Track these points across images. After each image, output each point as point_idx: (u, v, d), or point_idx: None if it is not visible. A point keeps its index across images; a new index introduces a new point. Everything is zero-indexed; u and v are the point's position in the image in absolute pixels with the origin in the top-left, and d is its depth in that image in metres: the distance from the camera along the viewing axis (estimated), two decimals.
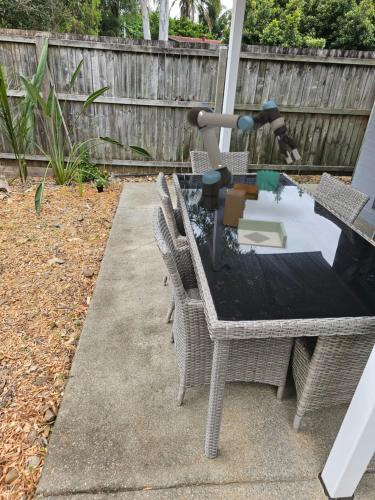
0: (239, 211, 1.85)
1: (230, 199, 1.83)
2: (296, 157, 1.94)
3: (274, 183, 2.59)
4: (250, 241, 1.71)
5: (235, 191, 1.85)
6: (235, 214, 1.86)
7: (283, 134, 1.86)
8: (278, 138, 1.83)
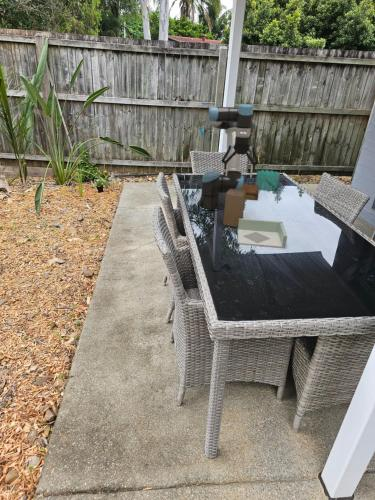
0: (239, 211, 1.85)
1: (230, 199, 1.83)
2: (250, 173, 1.81)
3: (274, 183, 2.59)
4: (250, 241, 1.71)
5: (235, 191, 1.85)
6: (235, 214, 1.86)
7: (239, 145, 1.73)
8: (228, 147, 1.76)
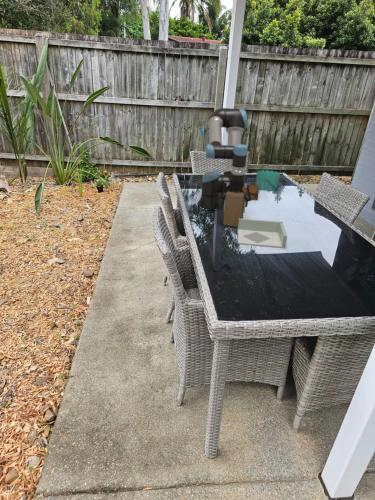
0: (239, 211, 1.85)
1: (230, 199, 1.83)
2: (243, 209, 1.90)
3: (274, 183, 2.59)
4: (250, 241, 1.71)
5: (235, 191, 1.85)
6: (235, 214, 1.86)
7: (234, 182, 1.82)
8: (224, 184, 1.85)
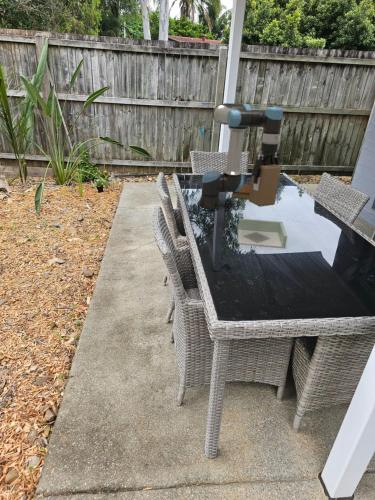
0: (276, 186, 1.60)
1: (269, 174, 1.55)
2: None
3: None
4: (250, 241, 1.71)
5: (266, 164, 1.58)
6: (272, 191, 1.61)
7: (268, 153, 1.54)
8: (258, 158, 1.53)
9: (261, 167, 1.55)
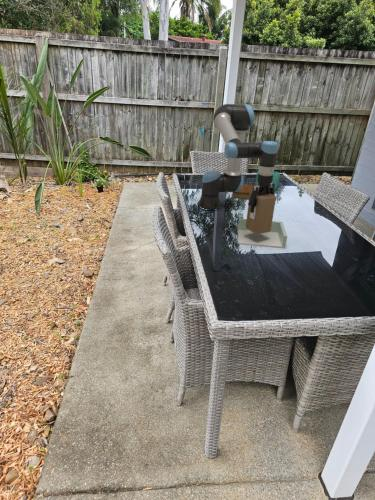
0: (272, 214, 1.67)
1: (265, 204, 1.62)
2: None
3: (274, 183, 2.59)
4: (250, 241, 1.71)
5: (262, 194, 1.64)
6: (268, 219, 1.67)
7: (264, 184, 1.61)
8: (254, 189, 1.60)
9: (257, 197, 1.61)
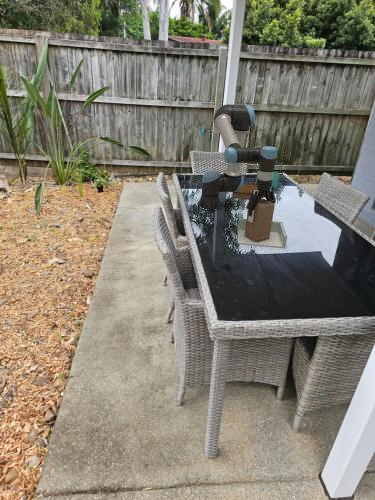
0: (271, 221, 1.69)
1: (264, 211, 1.64)
2: None
3: (274, 183, 2.59)
4: (250, 241, 1.71)
5: (261, 201, 1.67)
6: (267, 226, 1.69)
7: (263, 189, 1.62)
8: (253, 192, 1.61)
9: (256, 205, 1.63)
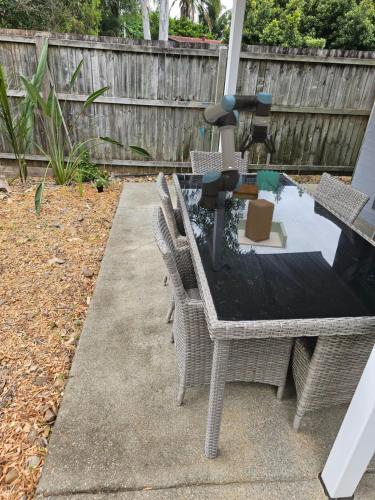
0: (271, 221, 1.69)
1: (264, 211, 1.64)
2: (266, 162, 1.82)
3: (274, 183, 2.59)
4: (250, 241, 1.71)
5: (261, 202, 1.66)
6: (267, 226, 1.69)
7: (257, 134, 1.73)
8: (246, 136, 1.74)
9: (256, 205, 1.63)
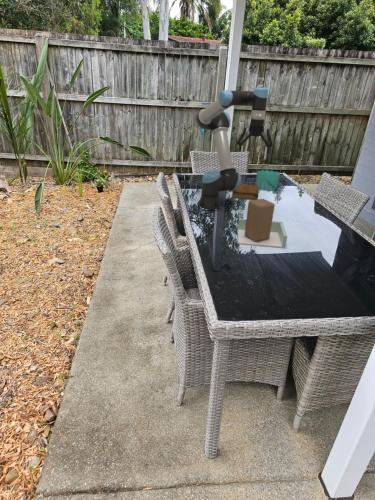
0: (271, 221, 1.69)
1: (264, 211, 1.64)
2: (264, 155, 1.88)
3: (274, 183, 2.59)
4: (250, 241, 1.71)
5: (261, 202, 1.66)
6: (267, 226, 1.69)
7: (254, 128, 1.80)
8: None
9: (256, 205, 1.63)
